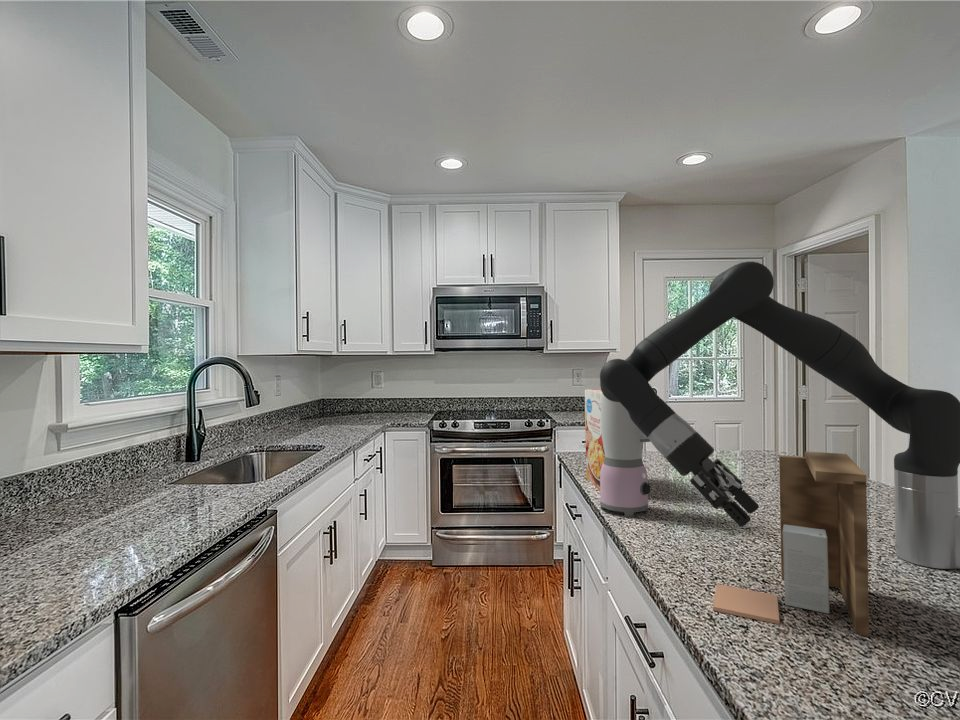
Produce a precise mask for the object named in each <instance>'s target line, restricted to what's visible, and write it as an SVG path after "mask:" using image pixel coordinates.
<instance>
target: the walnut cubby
mask: <svg viewBox="0 0 960 720" xmlns="http://www.w3.org/2000/svg"><path fill="white" fill-rule="evenodd" d="M778 463H779V464H778V467H779V469H778V470H779V472H778V475H779V479H778V480H779V516H780V517H779V520H780V521H779V522H780V523H779V526H780V527H779V528H780V532H779V533H780V575H781V576H780V577H782V578H781V579H783V580H784V556H783V525H784V524H785V525H793V526H800V527H807V528H815V529H824V530H825V531H826V534H827V538H828V573H829V588H834V587H835V588H836V589H839V588H840V589H839V591H840V594H841V596H842V599H843V602H844V604H845V608H846V610H847V613H848V616H849V618H851V619H850V622H851V624H852V627H853V629H854V632H855V635H859V636H864V637H870V606H869V603H870V599H869V559H868V558H869V556H868V555H869V554H868V553H869V552H868V551H869V550H868V504H867V503H868V501H867V500H868V497H867V496H868V495H867V493H868V492H867V474H866V473H865V472H864V471H863V469H861V468H860V467H859V466H858V465H857V463H855V462H854V460H853V459H852V458H851V457H850V456H849V455H848V454H847V453H836V452H835V453H834V452H822V451H821V452H820V451H818V452H817V451H804V456H797V455H796V456H795V455H783V454H781V455H778Z"/></svg>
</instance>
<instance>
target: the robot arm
mask: <svg viewBox="0 0 960 720" xmlns="http://www.w3.org/2000/svg"><path fill="white" fill-rule="evenodd" d="M774 282H775V281H774V275H773V274H772V272H771V270H770V269H769V268H768V267H767V266H766V265H764V264H762V263H759V262H756V261H743V262H739V263H736V264H734V265H733V266H731V267H730V268H727V269H726V270H724V271H723V272H721V273H719V274H718V275H717V276H716V277H714V278H713V280H712V281H711V282H710V285H709V289H708V290H709V293H708V294H707V295H706V296H705V297H704V298H702V299H700V300H699V301H698V302H696V303H695V304H694V305H692V306H690V307H689V308H688V309H686V310H684V311H683V312H681V313H679V314H678V315H676V316H675V317H673V318H672V319H671V320H669V321H667V322H666V323H664V324H662V325H661V326H660V327H658V328H657V329H656V330H654V331H653V332H652V333H650V334H649V335H648V336H646V337H645V338H643V340H641V341H640V342H639V343H638V344H637V345H636V346H635V347H634V349H633V350H632V352H631V354H630V355H629V356H627V358H626V359H621V358H614V359H613V358H612V359H610V360H607V362H605V363H604V365H602V367H601V370H600V373H599V386H600V389H601V391H602V393H603V395H604V396H605V397H606V398H607V399H608V400H610V401H613V402H620V403H621V404H622V405H623V406H624V407H625V408H626V410H627V411H628V413H629V415H630V418H631V420H632V421H633V422H634V424H635V425H636V426H637V427H638V428H639V429H640V430H641V431H642V432H643V433H644V434H645V435H646V437H648V439H649V440H650V441H651V442H650V443H651V444H652V445H653V447H654V448H655V449H656V450H657V452H658V453H659V454H661V456H663V458H664V459H665V460H666V461H667V462H669V464H670V465H671V466H672V467H673V468H674V469H675V471H676V472H677V473H679V474H680V475H681V477H682V476H683V477H686V476H688V475H689V474H690V473H692V474H693V476H692V478H690V479H689V482H690V483H691V484H692V485H693V487H695V489H696V490H697V491H698V493H700V494H701V495H702V496H703V498H705V499H706V501H708V503H709V504H710V505H711V507H712V508H714V509H716V510H717V509H718V508H719V510H723V511H724V512H725V513H726V514H727V515H728V516H729V517H730V518H731V519H732V520H733V521H734V522H735V524H737V526H738V527H740V528H741V527H744V526H746V525H747V524H748V523H750V522H751V520H752V519H751V516H750V515H749V514H751V515H752V514H753V513H754V512H756V511H757V510H758V509H759V508H760V505H759V503H757V502H756V501H755V499H754V498H752V496H750V494H749V493H747V492H746V491H745V489H744V486H743V482H742V480H741V479H739V477H737V476H736V474H734V473H733V472H732V471H731V469H729V467H727V466H726V465H725V464H724V463H723V462H722V461H721V460H720V459H719V458H716V459H714V461H713V460H711V459H710V457H711V456H712V455H713V454H714V452H715V449H714V447H713V446H712V445H711V444H710V443H709V442H708V440H706V439H705V438H704V437H703V436H702V435H701V434H700V433H699V432H698V431H697V430H696V429H695V428H694V427H692V425H691V424H689V422H687V421H686V420H685V419H684V418H682V417H681V416H680V415H679V414H677V413H676V411H675V410H674V409H673V408H672V407H670V406H669V404H667V403H666V402H665V401H664V399H662V398H661V397H660V396H659V395H658V394H657V393H656V391H655V390H654V388H653V387H652V386H651V385H650V383H649V382H650V381H651V380H652V379H653V378H654V377H655V376H656V375H657V374H658V373H661V371H662V370H664V369H666V368H667V367H669V366H670V365H671V364H673V363H674V362H675V361H676V360H678V359H679V358H680V357H681V356H683V355H684V354H685V353H686V352H688V351H689V350H690V349H691V348H693V347H694V346H695V345H697V344H698V343H699V342H700V341H702V340H703V339H705V337H707V336H708V335H710V334H711V333H712V332H714V331H715V330H716V329H718V328H719V327H721V326H723V324H725V323H726V322H728V321H730V320H731V319H733V318H734V319H736V320H738V321H739V322H741V323H744V325H747V326H749V327H751V328H752V329H754V330H756V331H758V332H759V333H760V334H762V335H764V336H766V337H767V338H768V339H770V340H771V341H772V342H774V343H775V344H776V345H778V346H779V347H780V348H782V349H783V350H785V351H786V352H788V353H789V354H790V355H792V356H794V357H795V358H796V359H797V360H799V361H800V362H801V363H803V364H804V365H806V366H807V367H808V368H811V369H812V370H813V371H815V372H816V373H817V374H819V375H821V376H823V377H824V378H825V379H827V380H829V381H830V382H832V383H834V384H835V385H836V386H838V387H839V388H841V389H843V390H844V391H846V392H847V393H850V394H851V395H852V396H854V397H855V398H857V399H858V400H859V401H861V403H863V404H864V405H866V406H867V408H869V409H870V410H871V411H872V412H874V413H875V414H876V415H877V416H878V417H880V418H881V419H882V420H883V421H885V422H886V423H887V425H889V426H890V427H892V428H894V429H896V430H897V431H898V432H901V433H904V434H907V435H909V439H908V440H909V441H908V443H909V444H908V448H907V449H906V450H905V451H902V452H898V453H897V454H895V455H894V457H893V458H894V459H893V471H894V475H893V477H894V478H893V479H894V525H895V526H894V531H895V532H894V534H895V535H894V536H895V538H894V539H895V542H894V543H895V544H894V545H895V555H896V556H897V557H898V558H900V559H901V560H903V561H905V562H908V563H912V564H914V565H919V566H921V567H927V568H934V569H942V570H952V569H953V570H954V569H956V570H957V569H959V570H960V515H959V482H958V478H959V477H958V476H959V475H958V474H959V466H960V400H959V399H958V398H957V397H956V395H953V394H952V393H950V392H948V391H946V390H945V391H944V390H937V389H923V388H917V387H916V388H915V387H911V386H910V385H907V384H905V383H903V382H901V381H900V380H898V379H896V378H894V377H893V376H891V375H890V374H889V373H887V372H885V371H884V370H883V369H882V368H880V366H878V364H877V363H876V361H875V360H874V358H873V356H872V355H871V354H870V352H869V351H868V349H867V348H866V347H865V345H864V344H862V342H860V341H859V340H858V339H857V338H856V337H854V336H853V335H852V334H850V333H848V332H847V331H846V330H844V329H843V328H841V327H839V326H838V325H836V324H834V323H833V322H831V321H828V320H827V319H824V318H821V317H818V316H815V315H812V314H810V313H806V312H804V311H800V310H797V309H794V308H792V307H791V308H790V307H789V306H786V305H784V304H782V303H780V302H778V301H777V300H775V299H774V298H772V297H771V293H772V292H773V289H774V285H775V283H774Z"/></svg>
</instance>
